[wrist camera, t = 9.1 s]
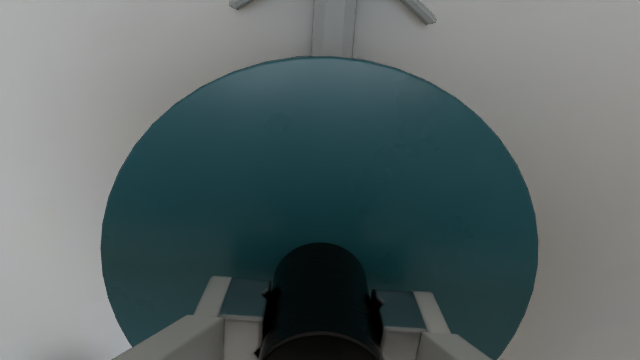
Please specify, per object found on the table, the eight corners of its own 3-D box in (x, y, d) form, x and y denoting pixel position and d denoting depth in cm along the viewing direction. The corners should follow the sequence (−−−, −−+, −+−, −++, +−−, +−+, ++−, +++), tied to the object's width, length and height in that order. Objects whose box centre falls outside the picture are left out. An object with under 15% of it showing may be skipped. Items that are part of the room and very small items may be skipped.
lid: (581, 100, 11) (773, 142, 6) (453, 428, 15) (512, 600, 10) (123, 13, 10) (-38, -8, 5) (118, 383, 14) (22, 548, 9)
